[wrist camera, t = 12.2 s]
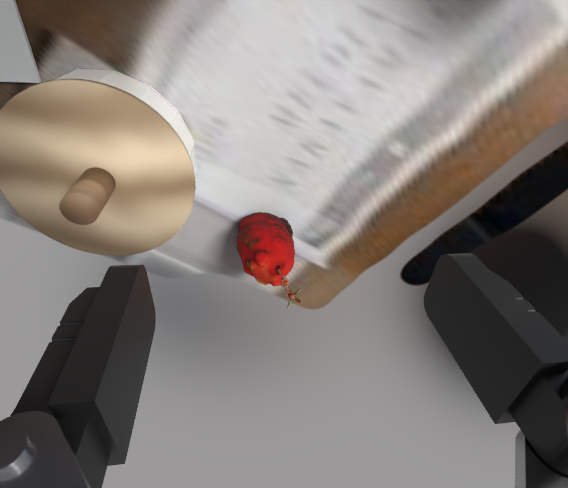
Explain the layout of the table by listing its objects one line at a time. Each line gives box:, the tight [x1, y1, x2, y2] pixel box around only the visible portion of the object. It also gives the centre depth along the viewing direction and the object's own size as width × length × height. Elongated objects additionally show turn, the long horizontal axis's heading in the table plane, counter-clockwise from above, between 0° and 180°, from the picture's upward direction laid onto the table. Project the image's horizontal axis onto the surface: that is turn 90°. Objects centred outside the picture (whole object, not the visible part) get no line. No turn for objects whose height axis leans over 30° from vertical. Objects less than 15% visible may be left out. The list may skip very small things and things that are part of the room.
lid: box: [0, 79, 195, 256], centre depth 30 cm, size 17×17×6 cm
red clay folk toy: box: [236, 212, 302, 308], centre depth 38 cm, size 8×7×15 cm
